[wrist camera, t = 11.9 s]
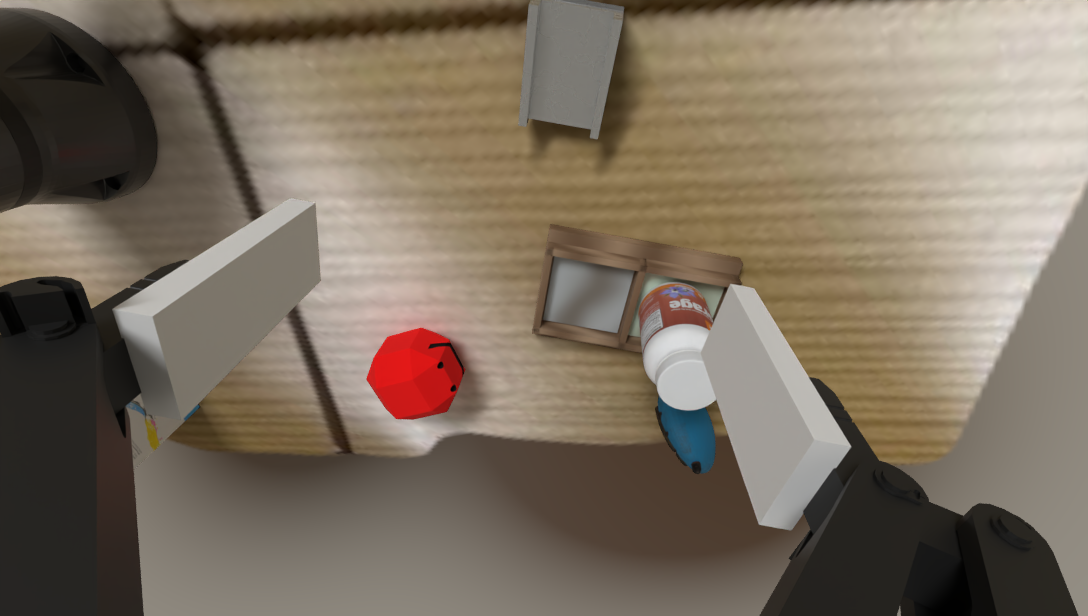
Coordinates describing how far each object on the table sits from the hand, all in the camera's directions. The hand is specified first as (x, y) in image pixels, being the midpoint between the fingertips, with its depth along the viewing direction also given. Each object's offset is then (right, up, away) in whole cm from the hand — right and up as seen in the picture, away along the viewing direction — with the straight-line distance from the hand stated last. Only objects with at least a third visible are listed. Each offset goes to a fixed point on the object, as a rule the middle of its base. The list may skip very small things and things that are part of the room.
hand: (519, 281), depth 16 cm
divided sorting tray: (+9, 0, +31) cm, 32 cm away
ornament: (+15, -10, +36) cm, 41 cm away
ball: (-11, -5, +37) cm, 39 cm away
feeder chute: (+3, +17, +21) cm, 28 cm away
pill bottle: (+12, -1, +30) cm, 32 cm away
